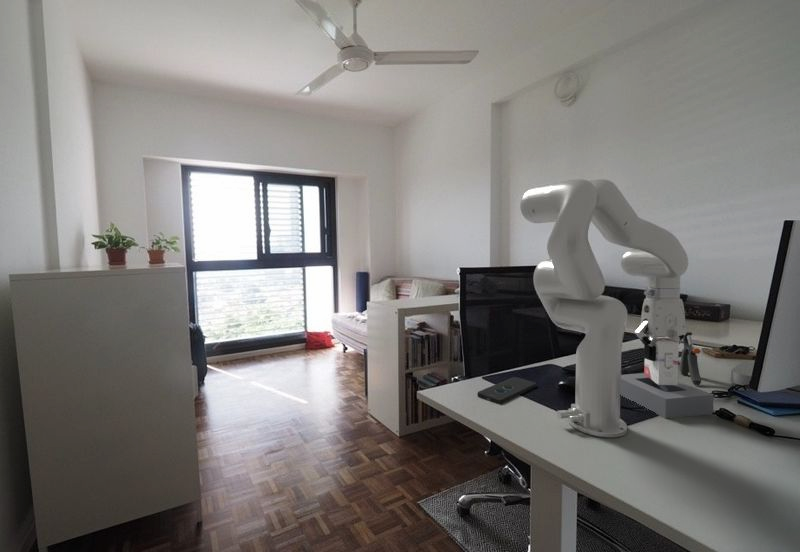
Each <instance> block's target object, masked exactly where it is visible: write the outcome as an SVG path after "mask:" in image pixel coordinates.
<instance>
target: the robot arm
mask: <svg viewBox="0 0 800 552" xmlns="http://www.w3.org/2000/svg"><path fill="white" fill-rule="evenodd" d="M519 205H520V207H519V208H520V211H521V212H520V213H521V215H522V216H523V218H524V219H525V220H527V222H530V223H532V224H545V223H554V225H553V228H552V230H551V232H550V234H549V237H548V239H547V243H546V249H547V250H546V251H547V255H548V257H549V258H547V259H544V260H542V261H541V262H539V263H538V264H537V265H536V267H535V269H534V272H533V277H532V278H533V286H534V290H535V292H536V295H537V296H538V299H540V303H542V306H543V307H544V309H545V311H546V312H547V313H546V314H547V315H548V317H549V318H550V320H551V321H552V323H553V324H554V325H555V326H557V327H559V328H561V329H564V330H569V331H573V332H579V333H582V334H585V336H584V338H583V339H582V340H581V342H579V345H578V346H577V347H576V353H575V393H574V394H575V397H574V398H575V403H571V404H570V408H568V409H567V410H565V409H562V410H561V409H560V410H559V409H558V410H556V417H557V419H559V420H563V419H564V420H565V419H567V420H568V423H569V425H571V427H573V428H574V429H576V430H577V431H580V432H582V433H585V434H588V435H590V436H595V437H601V438H619V437H622V436H625V435H626V434H627V433H628V425H627V423H626V422H625V421H624V420H623V419H622V418H621V396H620V389H621V375H622V347H623V340H624V335H625V330H626V326H627V324H628V323H627V322H628V315H629V314H628V309H627V307H626V305H625V304H624V303H623V302H622V301H621V300H619V299H618V298H615V297H611V296H608V295H603V293H604V291H605V287H606V283H605V277H604V275H603V272H602V270H601V268H600V266H599V263H598V260H597V259H596V257H595V254H594V252H593V249H592V247H591V244H590V242H589V237H588V236H589V229H590V224H591V223H592V224H593V225H594V226H595V228H596V229H597V230H598V232H599V233H600V234H601V235H602V237H603V238H604V239H605V240H606V241H607V242H609V243H611V244H614V245H617V246H621V247H625V248H629V250H627V251H625V253H623V255H622V257H621V259H620V267H621V270H622V271H623V272H624V273H625V274H627V275H630V276H632V277H643V278H644V277H645V278H646V281H645V282H646V284H645V285H646V287H645V288H646V289H645V290H644V291H643V295H645V298H644V299H643V303H642V307H641V309H642V310H641V315H640V316H641V317H640V325H639V327H638V328H637V329H636V330H635V331H634V334H635V335H636V337H637V338H638V340H640V341H641V343H642V345H643V346H644V348H643V349H644V350H643V358H644V360H645V359H648V360H651V361H655V360H656V347H655V346H654V343H655V341H656V338H657V337H671V336H674V330H676V331H678V341H679V346H680V345H681V344H682V342H681V341H683V338H684V335H685V334H686V333H687V332H689V329H688V328H687V326H686V314H685V313H686V312H685V307H684V306H685V305H684V302H683V299H682V298H680V297H681V277H682V276H683V275H684V274H685V273H687V270H688V269H689V268H688V267H689V257H688V254H687V252H686V249H685V248H684V246H683V245H682V243H681V242H680V241H679V239H678V238H677V237H676V235H674V234H673V233H672V232H670V231H669V230H667V229H665V228H663V227H661V226H658V225H657V224H654V223H652V222H651V221H648V220H645V219H643V218H640V217H639V216H638V215H637V213H636V211H635V210H634V208H633V207H632V206H631V204H630V203H629V202H628V200H627V199H626V197H625V196H624V195H623V193H622V192H621V190H620V189H619V188H618V186H617V185H616V184H615V183H614V182H613V181H611V180H608V179H605V178H602V179H601V178H599V179H592V180H587V179H567V180H563V181H558V182H553V183H549V184H544V185H540V186H539V185H538V186H534V187H532V188H529V189H528V190H527V191H525V193H524V194H523V195H522V197H521V199H520V204H519ZM649 337H651V339H650V340H649Z"/></svg>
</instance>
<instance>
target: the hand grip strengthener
mask: <svg viewBox="0 0 800 552" xmlns="http://www.w3.org/2000/svg"><path fill="white" fill-rule="evenodd" d="M692 335H693V333H692V331H691V332H689V331H688V332H687V333H686V334H685V335H684V338H683V339H682V342H683V349H682V350H681V356H680V363H679V372H680V375H682V376H685V377H686V376H687V377H688V376H690V380H691V383H693V385H694V386H700V385H701V383H702V379H701V375H700V369H699V365H698V355H699V354H701V349H700V348H698V347H694V343H693V340H692ZM689 374H690V375H689Z"/></svg>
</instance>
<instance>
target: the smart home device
mask: <svg viewBox="0 0 800 552" xmlns="http://www.w3.org/2000/svg"><path fill="white" fill-rule="evenodd" d="M536 387H537V382H535V381H531V380H528V379H525V378H520V377H517V376H513V377H510V378H508V379H505V380H503V381H501V382H498V383H496V384H494V385H491V386H488V387H486V388H484V389H481V390H479V391H477V397H479V398H481V399H483V400H486V401H489V402H493V403H494V404H498V405H502V404H504V403H506V402H508V401H510V400H512V399H514V398H517V397H518V396H520V395H522V394H524V393H527V392H529V391H531V390H532V389H535V388H536Z"/></svg>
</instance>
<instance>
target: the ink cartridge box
mask: <svg viewBox="0 0 800 552" xmlns="http://www.w3.org/2000/svg"><path fill="white" fill-rule="evenodd" d="M650 339H651V337H649V340H650ZM654 346H655V347H656V360H655V361H651V360H648V359H645V358H644V365H643V366H644V369H643V370H644V371H643V373H644V375H646V376H647V377H649V378H650V379H651V380H653V381H654V382H655V383H657V384H658V385H678V381H679V380H678V379H679V352H680V351H679V350H680V349H679V348H680V345H679V341H678V331H676V330H674V336H671V337H657V338H656V341H655V343H654Z"/></svg>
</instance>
